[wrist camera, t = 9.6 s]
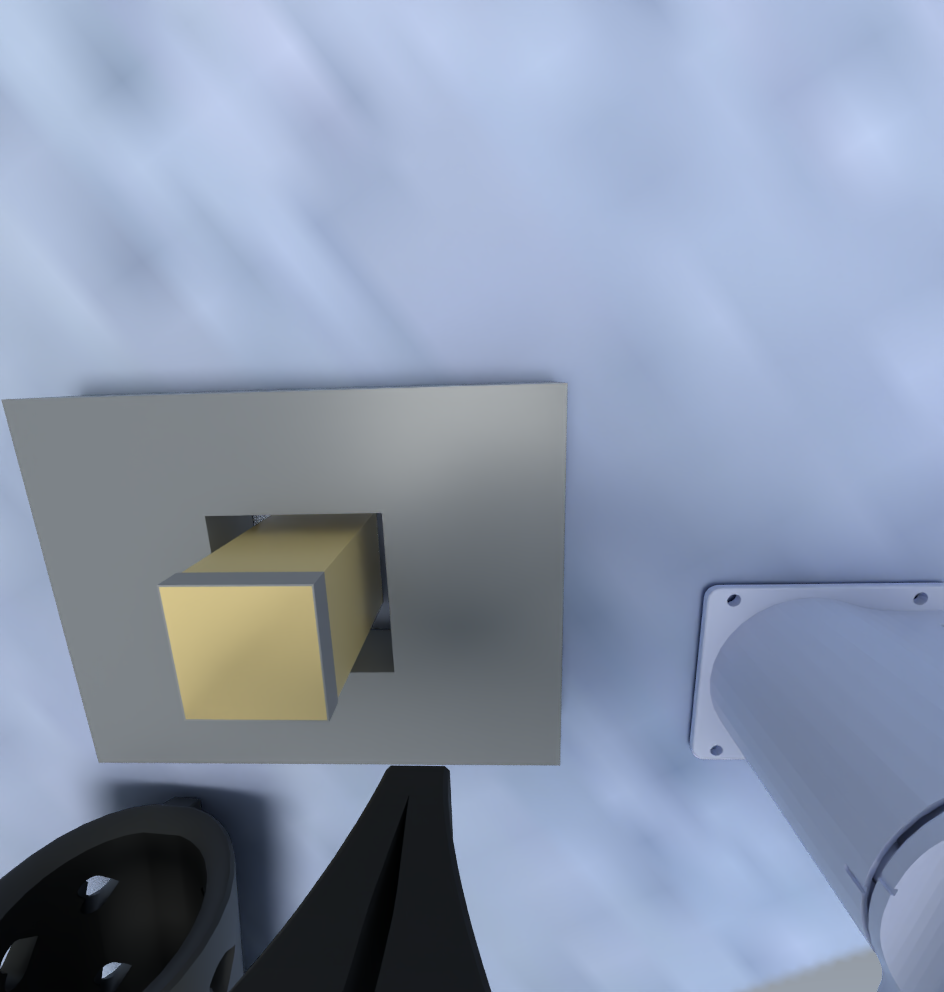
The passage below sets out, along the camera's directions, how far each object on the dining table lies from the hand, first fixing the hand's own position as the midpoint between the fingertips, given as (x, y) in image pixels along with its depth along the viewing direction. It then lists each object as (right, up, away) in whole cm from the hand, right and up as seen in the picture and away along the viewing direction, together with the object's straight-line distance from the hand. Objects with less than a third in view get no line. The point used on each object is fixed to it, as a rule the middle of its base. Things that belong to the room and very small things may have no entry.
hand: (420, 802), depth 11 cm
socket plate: (-5, +4, +9) cm, 11 cm away
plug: (-5, +4, +9) cm, 11 cm away
